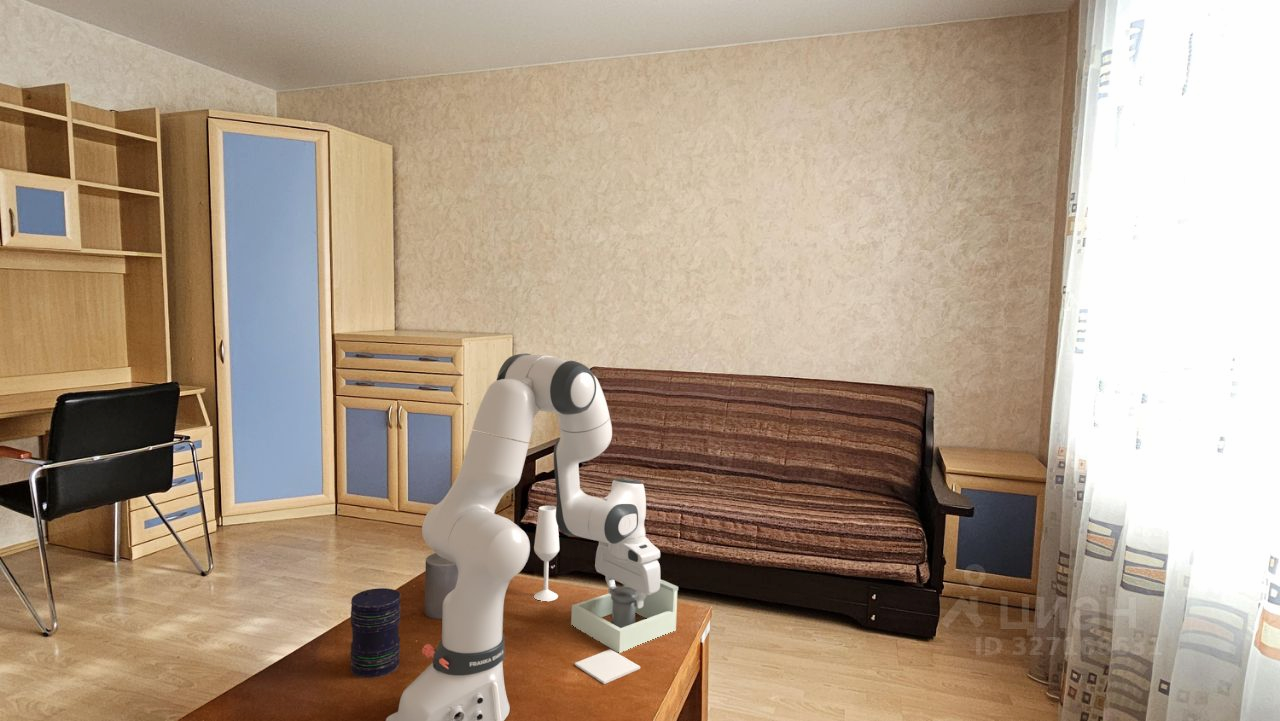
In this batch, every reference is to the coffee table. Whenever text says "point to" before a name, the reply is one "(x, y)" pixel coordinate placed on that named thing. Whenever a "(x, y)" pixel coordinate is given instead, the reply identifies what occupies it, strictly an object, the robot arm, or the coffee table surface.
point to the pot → (623, 606)
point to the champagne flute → (546, 546)
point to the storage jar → (375, 632)
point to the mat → (607, 666)
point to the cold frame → (658, 623)
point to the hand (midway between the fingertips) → (625, 600)
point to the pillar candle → (438, 584)
